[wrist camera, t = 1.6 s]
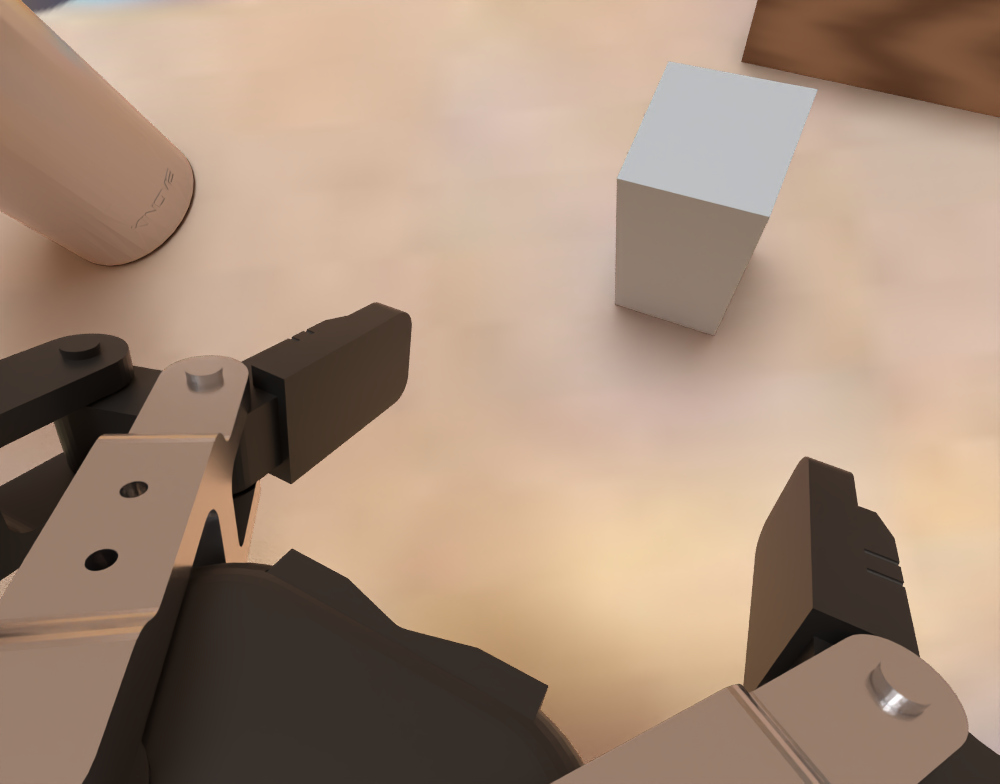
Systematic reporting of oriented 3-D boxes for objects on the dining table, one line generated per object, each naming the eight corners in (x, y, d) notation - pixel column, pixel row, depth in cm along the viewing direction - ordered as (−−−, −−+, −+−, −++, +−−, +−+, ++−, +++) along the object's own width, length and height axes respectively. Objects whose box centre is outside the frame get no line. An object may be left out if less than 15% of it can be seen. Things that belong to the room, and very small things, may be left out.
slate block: (614, 304, 28) (616, 178, 19) (650, 220, 29) (668, 61, 20) (714, 335, 27) (769, 217, 18) (747, 247, 28) (817, 89, 18)
